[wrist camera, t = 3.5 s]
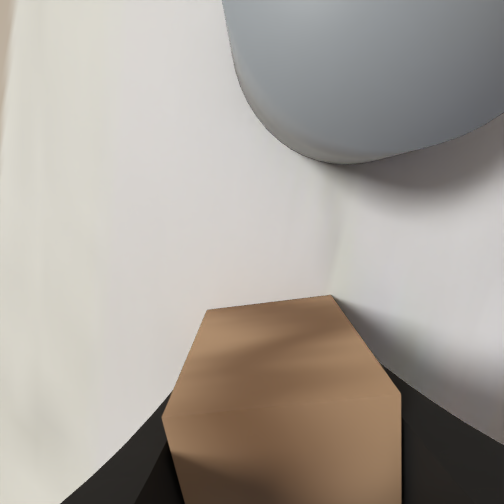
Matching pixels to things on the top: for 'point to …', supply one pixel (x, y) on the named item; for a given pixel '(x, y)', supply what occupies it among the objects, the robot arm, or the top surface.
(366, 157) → the grey rounded dome
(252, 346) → the walnut block
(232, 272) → the top surface
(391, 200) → the top surface
